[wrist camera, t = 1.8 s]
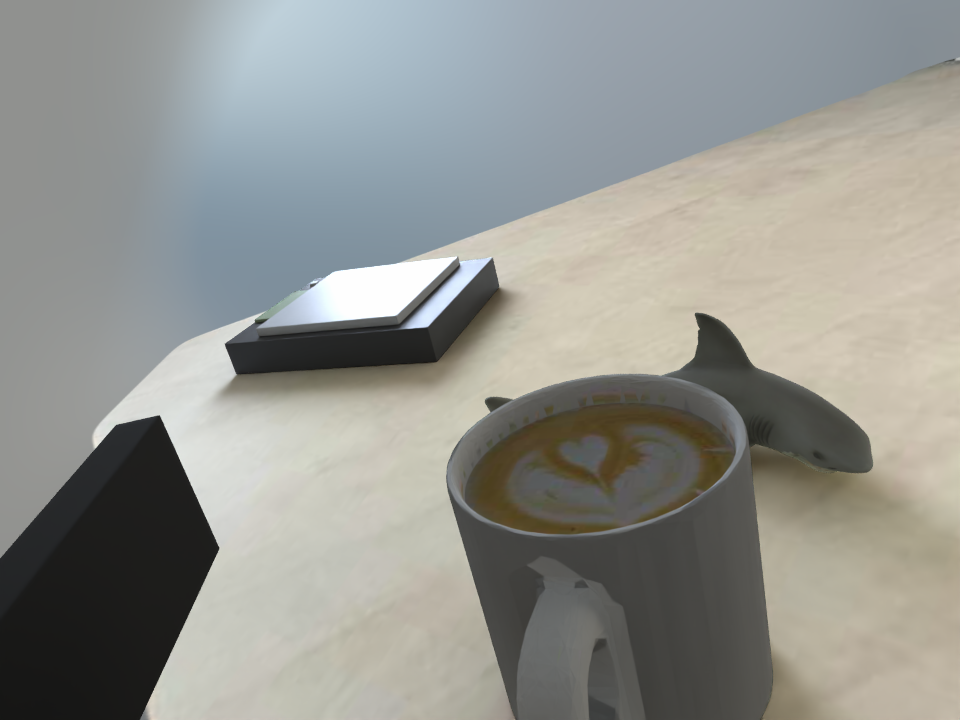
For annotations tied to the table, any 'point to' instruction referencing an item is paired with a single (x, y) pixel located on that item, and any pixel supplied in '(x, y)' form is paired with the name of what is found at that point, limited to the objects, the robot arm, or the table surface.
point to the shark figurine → (770, 405)
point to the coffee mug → (617, 551)
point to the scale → (368, 317)
